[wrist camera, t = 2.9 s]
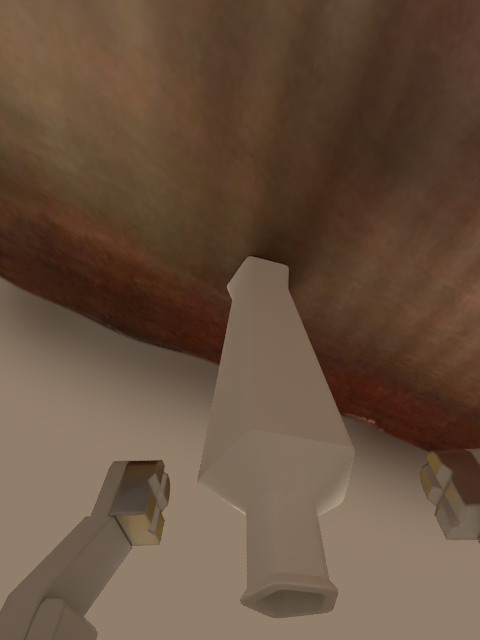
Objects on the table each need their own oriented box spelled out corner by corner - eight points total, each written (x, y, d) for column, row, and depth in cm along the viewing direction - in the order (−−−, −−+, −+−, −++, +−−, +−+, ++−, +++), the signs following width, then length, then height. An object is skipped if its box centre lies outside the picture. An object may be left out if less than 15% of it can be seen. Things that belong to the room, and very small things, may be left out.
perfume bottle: (269, 329, 21) (308, 643, 9) (212, 297, 20) (163, 613, 8) (314, 276, 19) (451, 593, 7) (254, 237, 18) (281, 539, 5)
